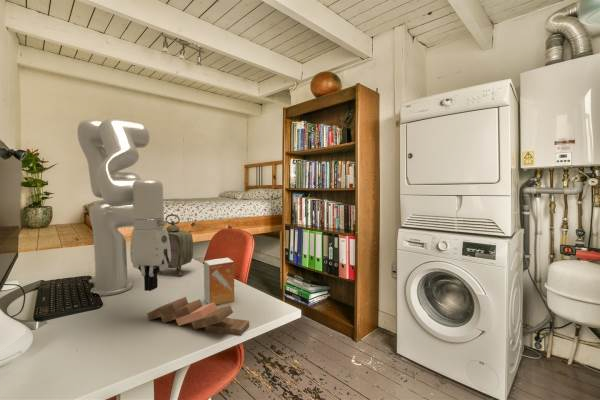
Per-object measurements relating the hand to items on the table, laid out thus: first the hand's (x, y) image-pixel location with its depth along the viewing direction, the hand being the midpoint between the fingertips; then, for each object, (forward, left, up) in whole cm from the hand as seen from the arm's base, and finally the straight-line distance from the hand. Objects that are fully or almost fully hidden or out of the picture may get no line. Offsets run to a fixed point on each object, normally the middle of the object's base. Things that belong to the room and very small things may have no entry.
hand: (151, 289), depth 82 cm
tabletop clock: (-20, +37, -8) cm, 43 cm away
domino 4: (+16, -1, -7) cm, 17 cm away
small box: (+13, +15, -8) cm, 21 cm away
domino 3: (+11, 0, -7) cm, 13 cm away
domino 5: (+19, -1, -8) cm, 20 cm away
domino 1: (+1, +1, -7) cm, 7 cm away
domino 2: (+6, 0, -7) cm, 9 cm away
